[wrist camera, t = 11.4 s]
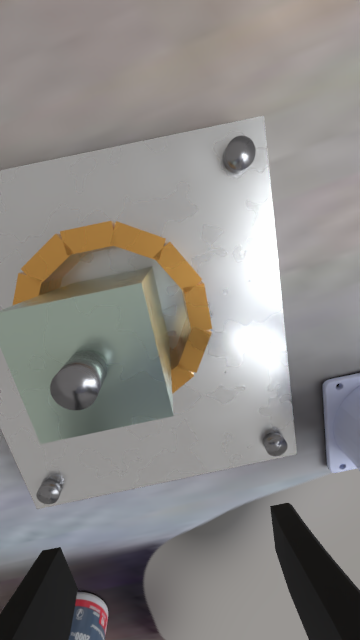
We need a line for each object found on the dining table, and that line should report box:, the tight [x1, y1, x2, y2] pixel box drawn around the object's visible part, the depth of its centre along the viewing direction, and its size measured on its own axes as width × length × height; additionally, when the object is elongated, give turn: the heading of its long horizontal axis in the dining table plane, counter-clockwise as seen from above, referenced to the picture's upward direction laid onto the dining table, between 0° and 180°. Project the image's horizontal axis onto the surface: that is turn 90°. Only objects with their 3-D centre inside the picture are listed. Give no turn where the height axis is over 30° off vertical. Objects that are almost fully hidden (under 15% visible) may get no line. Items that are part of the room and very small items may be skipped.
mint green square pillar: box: [0, 267, 174, 444], centre depth 11 cm, size 4×4×8 cm
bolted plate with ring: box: [0, 116, 297, 509], centre depth 15 cm, size 18×20×4 cm
